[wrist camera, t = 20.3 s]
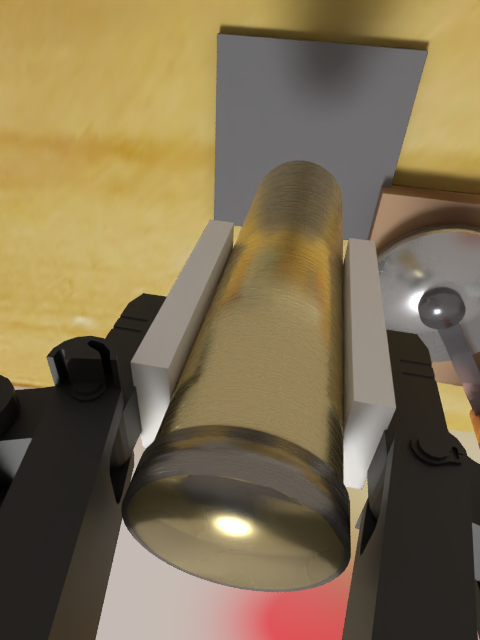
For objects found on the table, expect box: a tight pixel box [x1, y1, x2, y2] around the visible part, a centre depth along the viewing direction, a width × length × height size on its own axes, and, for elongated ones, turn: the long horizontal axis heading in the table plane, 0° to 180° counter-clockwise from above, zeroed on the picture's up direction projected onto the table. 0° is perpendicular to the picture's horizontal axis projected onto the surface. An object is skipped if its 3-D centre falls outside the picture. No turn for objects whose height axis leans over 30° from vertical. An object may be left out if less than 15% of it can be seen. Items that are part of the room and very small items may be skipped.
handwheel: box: [377, 224, 480, 447], centre depth 25 cm, size 9×16×6 cm, turn 32°
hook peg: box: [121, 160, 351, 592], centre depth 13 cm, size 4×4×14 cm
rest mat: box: [214, 33, 428, 240], centre depth 24 cm, size 10×10×1 cm
